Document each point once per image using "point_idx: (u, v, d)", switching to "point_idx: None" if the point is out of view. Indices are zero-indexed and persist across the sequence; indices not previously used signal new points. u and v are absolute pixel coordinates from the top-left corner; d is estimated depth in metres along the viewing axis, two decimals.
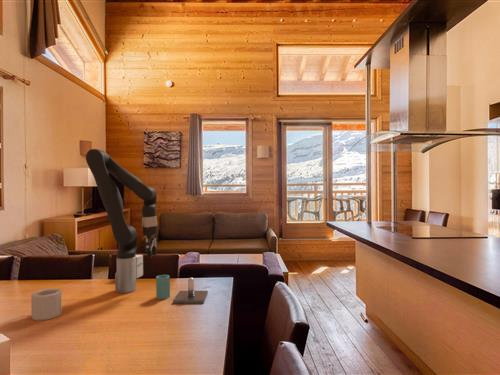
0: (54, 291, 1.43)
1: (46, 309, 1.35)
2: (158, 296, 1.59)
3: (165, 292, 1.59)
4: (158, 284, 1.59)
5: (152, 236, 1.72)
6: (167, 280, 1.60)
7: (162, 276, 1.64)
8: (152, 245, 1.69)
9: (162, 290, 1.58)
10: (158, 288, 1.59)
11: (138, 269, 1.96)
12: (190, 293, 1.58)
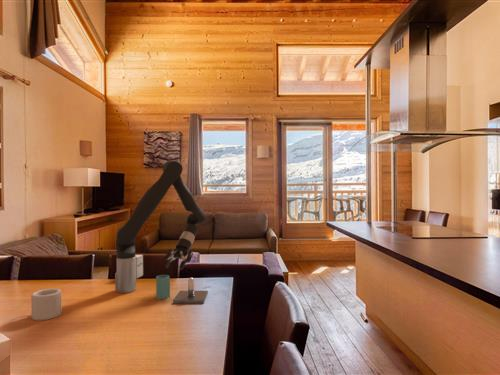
0: (54, 291, 1.43)
1: (46, 309, 1.35)
2: (158, 296, 1.59)
3: (165, 292, 1.59)
4: (158, 284, 1.59)
5: None
6: (167, 280, 1.60)
7: (162, 276, 1.64)
8: None
9: (162, 290, 1.58)
10: (158, 288, 1.59)
11: (138, 269, 1.96)
12: (190, 293, 1.58)
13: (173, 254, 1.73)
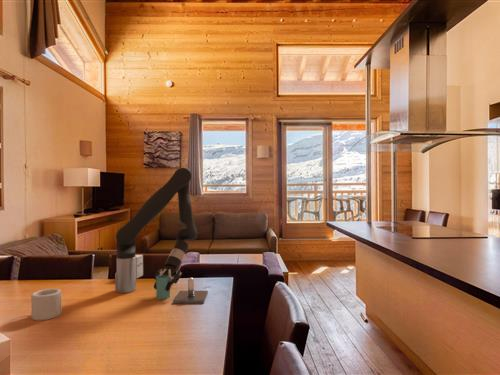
0: (54, 291, 1.43)
1: (46, 309, 1.35)
2: (158, 296, 1.59)
3: (165, 292, 1.59)
4: (158, 284, 1.59)
5: None
6: (167, 280, 1.60)
7: (162, 276, 1.63)
8: (173, 279, 1.64)
9: (162, 290, 1.58)
10: (158, 288, 1.59)
11: (138, 269, 1.96)
12: (190, 293, 1.58)
13: (162, 273, 1.64)
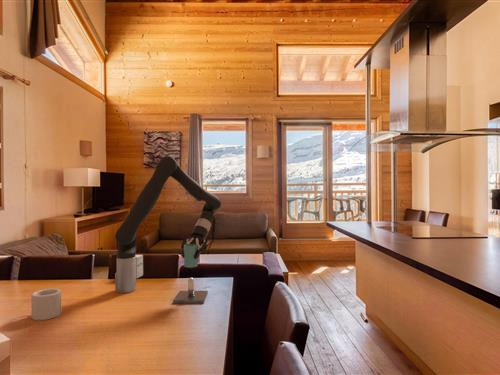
0: (54, 291, 1.43)
1: (46, 309, 1.35)
2: (186, 264, 1.57)
3: (193, 260, 1.57)
4: (186, 252, 1.57)
5: None
6: (195, 248, 1.58)
7: (189, 245, 1.61)
8: None
9: (190, 258, 1.56)
10: (186, 256, 1.57)
11: (138, 269, 1.96)
12: (190, 293, 1.58)
13: (189, 242, 1.62)
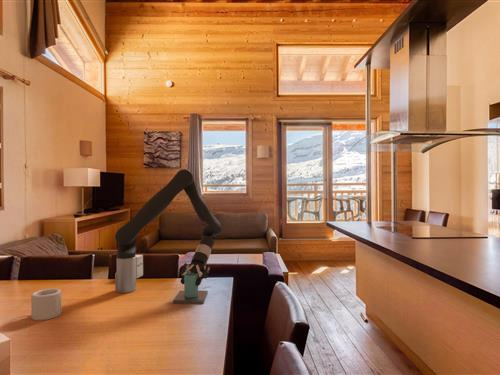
0: (54, 291, 1.43)
1: (46, 309, 1.35)
2: (186, 294, 1.57)
3: (194, 290, 1.57)
4: (187, 282, 1.57)
5: None
6: (196, 278, 1.58)
7: (190, 274, 1.61)
8: (202, 275, 1.62)
9: (191, 288, 1.56)
10: (187, 286, 1.57)
11: (138, 269, 1.96)
12: None
13: (189, 269, 1.62)
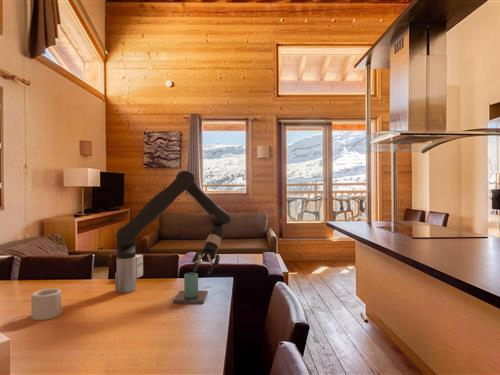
0: (54, 291, 1.43)
1: (46, 309, 1.35)
2: (186, 294, 1.57)
3: (194, 290, 1.57)
4: (187, 282, 1.57)
5: None
6: (196, 278, 1.58)
7: (190, 274, 1.61)
8: (213, 263, 1.74)
9: (191, 288, 1.56)
10: (187, 286, 1.57)
11: (138, 269, 1.96)
12: None
13: (200, 258, 1.75)
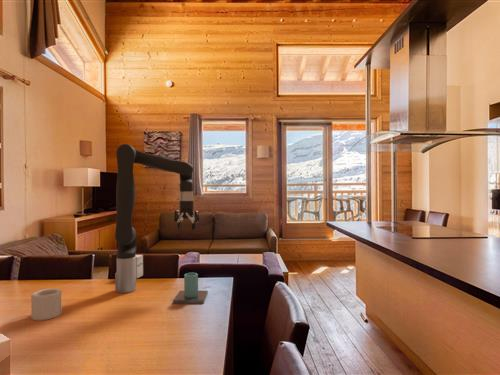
0: (54, 291, 1.43)
1: (46, 309, 1.35)
2: (186, 294, 1.57)
3: (194, 290, 1.57)
4: (187, 282, 1.57)
5: None
6: (196, 278, 1.58)
7: (190, 274, 1.61)
8: (194, 218, 1.80)
9: (191, 288, 1.56)
10: (187, 286, 1.57)
11: (138, 269, 1.96)
12: None
13: (181, 217, 1.80)
